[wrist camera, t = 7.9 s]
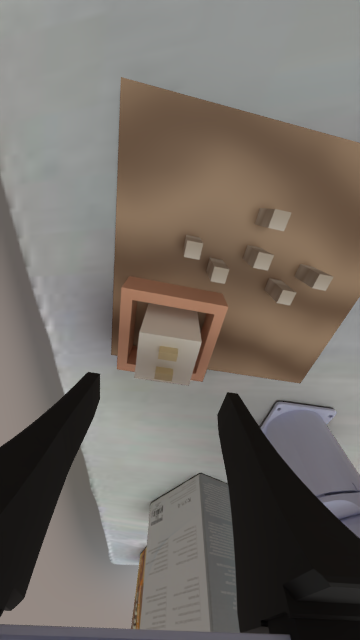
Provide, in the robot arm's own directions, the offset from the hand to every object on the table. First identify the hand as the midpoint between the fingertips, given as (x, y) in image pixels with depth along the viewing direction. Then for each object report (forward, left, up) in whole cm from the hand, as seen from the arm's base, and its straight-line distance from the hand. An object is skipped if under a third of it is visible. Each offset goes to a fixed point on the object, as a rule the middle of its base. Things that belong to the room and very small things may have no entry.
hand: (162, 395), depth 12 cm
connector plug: (0, 0, -8) cm, 8 cm away
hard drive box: (-37, -10, -10) cm, 39 cm away
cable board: (+5, -5, -9) cm, 12 cm away
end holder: (0, 0, -8) cm, 8 cm away
